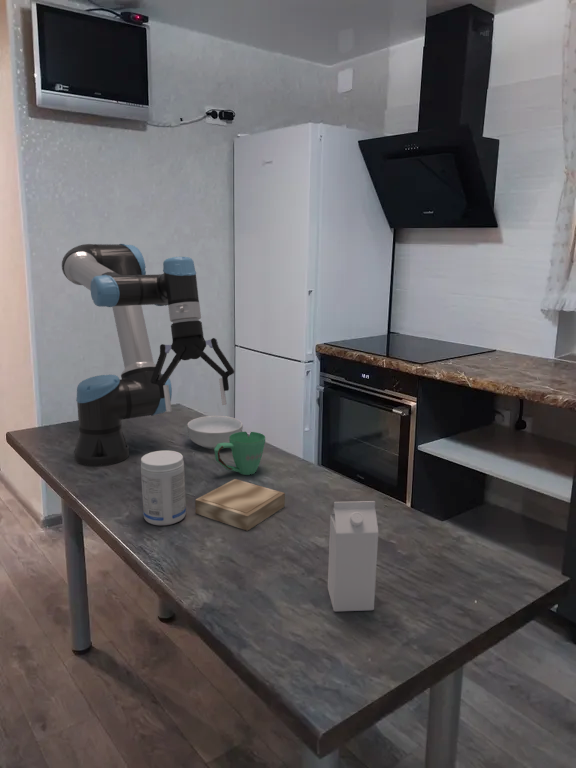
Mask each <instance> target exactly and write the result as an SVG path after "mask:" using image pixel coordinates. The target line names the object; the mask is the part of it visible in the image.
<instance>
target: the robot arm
mask: <svg viewBox="0 0 576 768" xmlns="http://www.w3.org/2000/svg"><path fill="white" fill-rule="evenodd" d="M162 264H163V265H162V268H163V269H162V273H161V274H159V273H158V274H147V271H146V268H147V265H146V263H145V258H144V256H143V253H142V252H141V250H140V249H139V248H138V247H137V246H135V245H133V244H125V243H119V244H111V243H110V244H108V243H106V244H102V243H101V244H100V243H97V244H96V243H93V244H92V243H84V244H79V245H77V246H75V247H73V248H71V249H70V250H68V251H67V252H66V253H65V254H64V256H63V257H62V260H61V270H62V273H63V275H64V277H65V278H66V279H67V280H68V281H69V282H71V283H73V284H74V285H77V286H84V288H86V289H87V290H89V291H90V297H91V299H92V302H93V304H94V305H95V306H96V307H101V308H102V307H103V308H104V307H105V308H106V307H107V308H112V311H113V317H114V322H115V327H116V332H117V337H118V342H119V346H120V351H121V356H122V361H123V367H124V370H123V371H122V372H121V374H120V377H119V376H118V375H116V374H101V375H100V374H99V375H96V376H91V377H89V378H86V379H83V380H82V381H80V382H79V383H78V384H77V386H76V399H75V400H76V403H77V404H76V405H77V419H78V421H77V422H78V432H79V433H78V437H77V441H76V445H75V449H74V452H73V455H74V461H75V462H76V463H77V464H79V465H83V466H91V467H92V466H93V467H97V466H98V467H99V466H100V467H101V466H103V467H104V466H109V465H115V464H118V463H120V462H122V461H125V460H127V459H128V458H129V456H130V449H129V445H128V444H127V440H126V437H125V435H124V433H123V429H122V421H123V420H128V419H135V418H142V417H148V416H151V417H154V416H155V415H160V414H164V413H165V412H166V413H171V412H172V410H173V409H172V396H173V395H172V394H173V391H172V389H173V388H172V382H171V379H170V377H171V375H172V374H173V373H174V370H175V369H176V368H177V366H178V364H179V363H180V362H181V360H182V361H189V360H197V359H199V358H201V359H202V360H203V361H204V362H206V364H207V365H209V366H210V367H211V368H212V369H213V370H215V371H214V372H216V373H217V374H218V375H220V378H218V380H219V381H218V382H219V390H220V397H221V405H222V406H226V405H227V397H226V391H227V392H228V391H229V389H230V386H229V377H230V376H232V375H233V374H235V369H234V367H232V365H231V363H230V362H229V360H228V358H227V357H226V356H225V354H224V353H223V352H222V350H221V348H220V346H219V344H218V343H219V342H218V339H217V338H216V337H212V338H211V339H208V340H205V337H204V331H203V329H204V328H203V323H202V321H201V318H202V316H201V315H202V314H201V307H200V306H201V305H200V299H199V291H198V281H197V272H196V268H195V262H194V259H193V258H191V257H189V256H173V257H168V258H166V259H165V260H163V262H162ZM152 305H153V306H156V307H163V306H167V307H168V314H169V321H170V322H172V323H171V325H170V328H171V329H170V330H171V336H172V337H171V339H172V342H171V344H162V343H161V344H160V345H159V356H158V359H157V361H156V364H155V363H154V362H155V361H154V359H153V358H154V357H153V354H152V349H151V345H150V339H149V335H148V330H147V329H148V328H147V325H146V320H145V316H144V312H143V307H142V306H152ZM207 346H209V348H211V349H213V351H214V352H215V354H216V355H217V357H218V359H219V360H220V362H221V363H222V364H223V367H225V369H226V371H225V370H224V369H223V368H222V367H221V366H220V365H218V364H217V363H216V362H215V361H214V360H213V359H212V358H211V357H210V356H209V355H208V354H207V353H205V351H204V350H205V349H206V348H207ZM171 350H172V351H173V352H174V357H173V359H171V362H170V363H169V365H168V366H167V368H166V370H165V371H164V373H163V374H162V370H163V367H164V364H165V361H166V359H167V356H168V355H167V354H169V353H170V351H171ZM120 378H121V379H120Z"/></svg>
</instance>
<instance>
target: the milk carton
mask: <svg viewBox="0 0 576 768" xmlns="http://www.w3.org/2000/svg"><path fill="white" fill-rule="evenodd" d="M376 512H377V511H376V501H375V500H369V501H368V500H367V501H366V500H364V501H360V500H359V501H334V502H333V509H332V510H331V512H330V515H329V516H330V518H329V520H330V521H329V545H328V546H329V547H328V565H327V566H328V574H327V591H328V594H329V599H330V603H331V606H332V611H333V612H354V611H355V612H357V611H358V612H359V611H360V612H361V611H362V612H363V611H373V610H375V597H376V596H375V595H376V582H377V581H376V580H377V579H376V578H377V562H378V544H379V527H378V525H379V524H378V519H377V513H376Z"/></svg>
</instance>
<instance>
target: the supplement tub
mask: <svg viewBox="0 0 576 768" xmlns="http://www.w3.org/2000/svg"><path fill="white" fill-rule="evenodd" d="M140 476H141V479H140V481H141V494H142V495H141V496H142V508H143V509H142V510H143V511H142V513H143V518H144V520H145V521H146V522H147V523H148V524H151V525H154V526H169V525H173V524H174V525H175V524H176V523H178V522H180V521H182V520H183V519H184V518H185V516H186V514H187V508H186V483H185V482H186V479H185V478H186V477H185V461H184V456H183V455H182V453H180V452H178V451H175V450H168V449H167V450H156V451H151V452H149V453H146V454H144V455H143V456H141V458H140Z"/></svg>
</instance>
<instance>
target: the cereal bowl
mask: <svg viewBox="0 0 576 768" xmlns="http://www.w3.org/2000/svg"><path fill="white" fill-rule="evenodd" d="M186 426H187V427H186V428H187V435H188V437H189V439H190V440H191V441H192V442H193V443H194V444H196V445H198V446H201V447H203V448H205V449H209V450H214V449H215V447H216V446H217V444H219V443H230V441H229V437H230V436H231V435H232V434H234V433H238V432H243V428H244V427H243V426H244V425H243V422H242V421H241V420H240V419H238V418H235V417H232V416H228V415H227V416H226V415H207V416H200V417H196V418H194V419H191V420H189V421H188V422H187V425H186Z"/></svg>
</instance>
